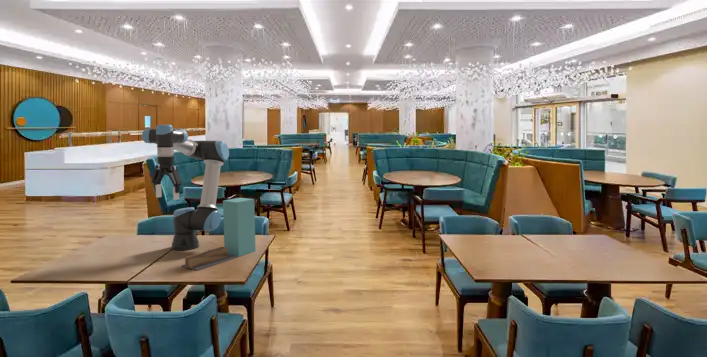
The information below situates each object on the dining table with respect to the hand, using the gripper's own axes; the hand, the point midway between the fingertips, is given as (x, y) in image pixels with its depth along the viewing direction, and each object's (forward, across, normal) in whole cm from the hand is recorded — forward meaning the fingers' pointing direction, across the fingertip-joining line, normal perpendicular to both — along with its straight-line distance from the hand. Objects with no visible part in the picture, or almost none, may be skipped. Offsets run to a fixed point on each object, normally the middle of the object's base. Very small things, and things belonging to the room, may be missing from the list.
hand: (167, 198), depth 221 cm
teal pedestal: (+35, +12, +36) cm, 52 cm away
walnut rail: (+34, +12, +13) cm, 38 cm away
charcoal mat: (+35, +12, +15) cm, 40 cm away
